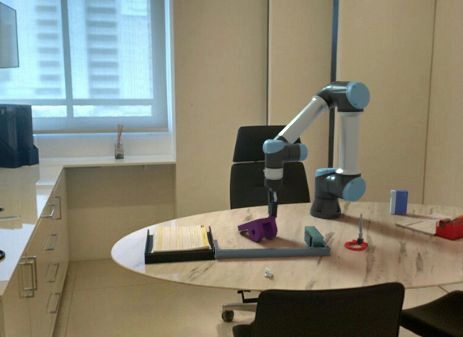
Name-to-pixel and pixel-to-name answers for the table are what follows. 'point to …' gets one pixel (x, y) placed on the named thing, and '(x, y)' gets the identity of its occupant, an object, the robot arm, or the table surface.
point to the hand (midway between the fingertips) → (271, 231)
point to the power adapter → (268, 272)
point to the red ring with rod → (359, 240)
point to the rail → (310, 237)
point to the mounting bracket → (260, 228)
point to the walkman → (398, 201)
